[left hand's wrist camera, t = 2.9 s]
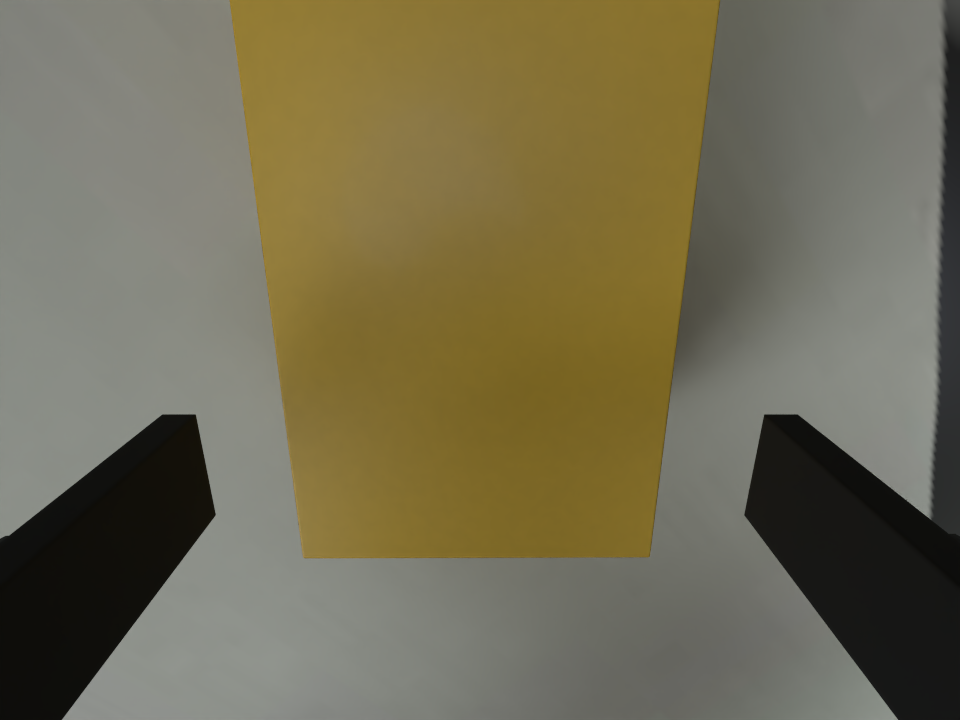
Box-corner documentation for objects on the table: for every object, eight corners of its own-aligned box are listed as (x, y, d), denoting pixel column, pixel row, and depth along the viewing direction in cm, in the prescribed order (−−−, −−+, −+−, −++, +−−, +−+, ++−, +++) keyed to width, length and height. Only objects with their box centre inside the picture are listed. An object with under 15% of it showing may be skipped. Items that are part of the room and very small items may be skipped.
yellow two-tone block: (315, -62, 19) (197, -231, 11) (636, -62, 19) (751, -229, 11) (357, 437, 25) (302, 559, 17) (596, 437, 25) (650, 558, 17)
